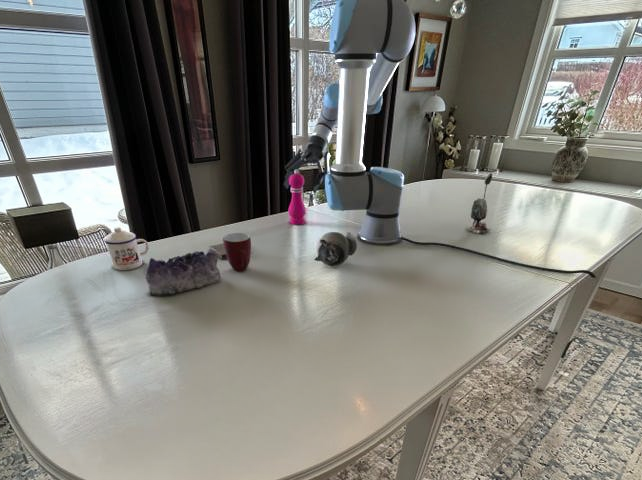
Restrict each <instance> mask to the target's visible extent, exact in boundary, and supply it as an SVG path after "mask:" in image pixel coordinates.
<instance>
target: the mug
mask: <svg viewBox="0 0 642 480" xmlns="http://www.w3.org/2000/svg"><path fill="white" fill-rule="evenodd" d="M222 242H223V243H222V244H224V249H225V252H226V255H227V258H226V259H227V261H228V264H229V266H230V267H231V268H232V270H233V271H234V272H237V273H241V272H245V271H247V270H248V267H249V265H250V262H251V255H252V254H251V252H252V239H251V235H250V234H248V233H244V232H233V233H228V234H226V235H224V236H223V237H222Z"/></svg>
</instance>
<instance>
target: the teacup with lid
mask: <svg viewBox="0 0 642 480" xmlns="http://www.w3.org/2000/svg"><path fill="white" fill-rule="evenodd" d="M103 241H104V243H105V245H106V248H107V251H108V254H109V257H110V260H111V264H112V266H113V268H114V269H115V270H118V271H128V270H134V269H137V268H139V267H140V266H142V265H143V259H142V256H145V255H147V253H148V252H149V248H150V245H149V243H148V241H147V240H145V239H144V238H138V239H137V235H136V234H135V233H134V232H131V231H126V230H124V229H123V230H122V228H121V227H120V226H117V227H114V228H113V231H112V232H110V233H109V234H107V235H105V236H104V238H103ZM138 243H144V244H145V250H144V251H142V252H140V249H139V244H138Z"/></svg>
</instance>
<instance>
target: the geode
mask: <svg viewBox="0 0 642 480" xmlns="http://www.w3.org/2000/svg"><path fill="white" fill-rule="evenodd" d="M218 258H219V257H218V256H217V255H215V254H214V253H213V252H211V251H207V252H206V254H205V252H204V251H203V250H201V251H199V249H198V250H195V251H192V252H188V253H185V254H183V255H181V256H180V255H178V256H174V257H171V258H168V260H167V261H165V260H163V259H158V260H156V259H155V258H153V257H150V259H149V263H148V265H147V268H146V274H145V279H146V283H147V284H148V291H149V294H150V295H151V296H160V297H163V296H171V295H173V294H177V293H181V292H184V291H189V290H193V289H196V288H199V289H200V288H201V287H205V286H208V285H211V284H213V283H216V282H218V281H219V280H220V279H221V271H220V269H219V268H218Z"/></svg>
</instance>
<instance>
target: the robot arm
mask: <svg viewBox="0 0 642 480" xmlns="http://www.w3.org/2000/svg"><path fill="white" fill-rule="evenodd" d="M331 17H332V18H331V24H330V29H329V30H330V31H329V40H328V41H329V52H330V53H331V54H333V55H334V63H335V64H336V65H337V67H338V69H339V75H338V76H339V77H338V82H332V83H330V84H329V85H327V86H326V88H325V91H324V95H323V97H322V104H321V109H320V114H319V116H318V119H317V121H316V125H315V127H314V129H313V132H312V133H311V136H310V138H309V140H308V142H307V146H306V149H305V150H302V148H299V149H298V151H297V152H296V154H295V155H294V156H293V157H292V158H291V159H290V160H289V162H287V163H286V165H284V169H285V171H286V174H285V176H284V179H285V180H284V182H283V187H284V188H285V189H286V190H288V189H289V187H290V184H289V178H290V176H291V175H293V174H295V173H294V171H295V170H296V169H297V170H298V171H299V169H301V168H302V167H303V166H304V165H308V164H312V165H315V164H316V166H317V168H318V171H319V173H317V175H316V177H315V179H314V182H313V184H312V187H311V190H312V192H313V193H314V194H316V193H317V191H318V189H319V187H320V186H321V185H322V183H323V181H324V189H325V197H326V202H327V205H328V207H329V209H330V210H332V211H341V212H344V211H364V210H366V212H365V217H364V220H363V222H362V224H361V225H362V226H361V228H360V230H359V233H358V238H359V239H360V240H361V241H362V242H364V243H368V244H372V245H379V246H381V245H382V246H384V245H387V246H388V245H393V244H397V243H398V242H400V241H401V240H402V241H405V242H407V243H409V244H411V245H412V244H413V245H418V246H437V247H438V246H439V247H445V248H450V249H455V250H459V251H462V252H467V253H470V254H474V255H477V256H481V257H485V258H487V259H488V258H489V259H492V260H495V261H498V262H502V263H505V264H509V265H512V266H513V265H514V266H519V267H522V268H528V269H533V270H538V271H544V272H549V273H557V274H565V275H573V274H586V275H589V276H590V278H593V279H596V278H597V276H596V274H595V273H594V272H592V271H590V270H587V269H578V270H564V269H557V268H549V267H542V266H537V265H531V264H527V263H522V262H519V261H518V262H517V261H513V260H509V259H505V258H501V257H498V256H494V255H491V254H488V253H484V252H480V251H476V250H474V249H470V248H466V247H461V246H456V245H452V244H448V243H441V242H431V241H429V242H426V241H425V242H423V241H416V240H412V239H410V238H407V237H403V236H402V232H401V226H400V211H401V210H400V209H401V205H402V197H403V191H404V181H405V176H404V174H403V173H402V172H401V171H399V170H396V169H392V168H388V167H382V166H371V167H370V169H369V172H366V166H365V165H364V163H363V162H362V161H363V149H364V137H365V126H366V115H374V114H379V113H380V111H381V110H382V106H383V100H384V99H383V92H384V91H385V89H386V87H387V85H388V84H389V82H390V80H391V78H392V77H393V75H394V73H395V71H396V69H397V67H398V66H399V65H400V63H401V62H403V61H405V59H406V58H407V57H408V55H409V53H410V52H411V50H412V48H413V45H414V43H415V38H416V21H415V16H414V13H413V11H412V8H411V7H410V5H409V4H408V3H407V2H406V1H405V0H336V2H335V6H334V9H333V13H332V16H331ZM335 130H336V137H335V138H336V139H335V158H334V159H335V160H334V162H333V163H332V164H331V165H330V159H331V155H330V152H329V151H328V150H327V148H328V146H329V144H330V142H331V139H332V137H333V134H334V132H335ZM322 159H323V163H324V164H323V165H324V169H323V166H322V163H321V160H322ZM573 341H574V338H572V339H571V340H569V341H567V343H566V345H565V347H564V350H563V351H562V353H561V355H560V359H564V358H565V356H566V354H567V352H568V350H569V348H570V346H571V345H572V343H573Z"/></svg>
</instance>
